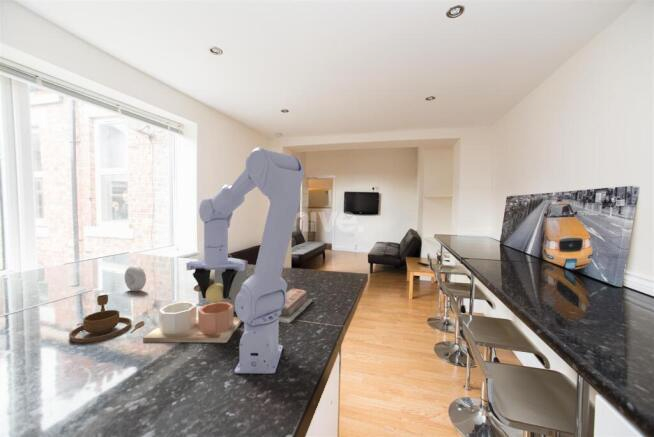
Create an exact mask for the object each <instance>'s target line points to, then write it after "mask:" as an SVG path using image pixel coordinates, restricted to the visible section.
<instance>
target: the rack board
mask: <svg viewBox="0 0 654 437" xmlns="http://www.w3.org/2000/svg"><path fill="white" fill-rule="evenodd" d="M196 318H197V323H196V324H195V325H194V326H193V327H192V328H191V329H189V330H186V331H183V332H180V333H176V334H164V333H162V332H161V330H160V329H159V326H157V327H155V328H154V329H153V330H151V331H150V332H149V333H147V334H146V335H145V336H143V337H142V342H143V343H146V342H149V343H150V342H151V343H157V342H158V343H222V344H224V343H225V344H226V343H227V342H229V339H230V338H231V337H232V336H233V334H234V333H235V332H236V330H237V329H238V328H239V326H241V323H243V321H242V320H240V319H239V317H238V316H233V325H232V327H231V328H230V329H229V330H227V331H224V332H221V333H218V334H202V333H201V332H200V331H199V330H198V315H196Z"/></svg>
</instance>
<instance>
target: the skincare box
mask: <svg viewBox="0 0 654 437" xmlns="http://www.w3.org/2000/svg"><path fill="white" fill-rule="evenodd" d="M228 261H236V262H245V269H244V270H243V271H239V270H238V271H237V274H236V276H235V278H234V280H233V282H232V285H231V289H230V293H229V297H227V298H226V299H223V300H222V301H221V302H228V303H230V304H232V305H233V313H236V311H235V299H236V296H237V294H238V293H239V292H240V290H241V286H242V284H243V283H244V282H245V281H246V280H247V279H248V278H247V274H248V260H245V259H241V258H236V257H235V258H234V257H228ZM224 271H225V270H215V276H214V284H215V283H219V284H222V285H223V280H222V275H221V273H223V272H224Z"/></svg>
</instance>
